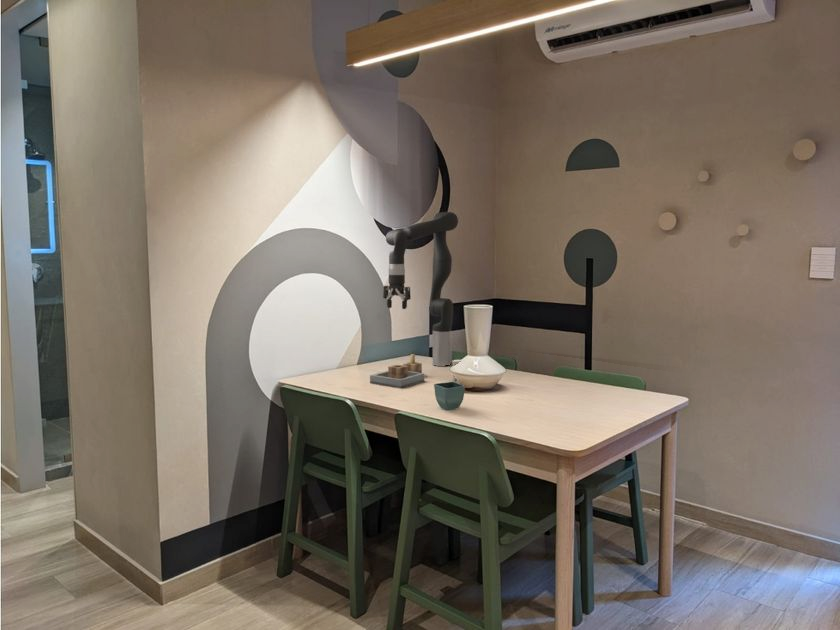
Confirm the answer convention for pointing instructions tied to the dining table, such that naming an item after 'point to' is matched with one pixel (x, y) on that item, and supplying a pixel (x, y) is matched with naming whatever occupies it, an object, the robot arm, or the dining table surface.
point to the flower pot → (449, 394)
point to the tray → (393, 382)
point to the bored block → (398, 371)
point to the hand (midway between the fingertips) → (396, 308)
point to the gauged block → (413, 365)
